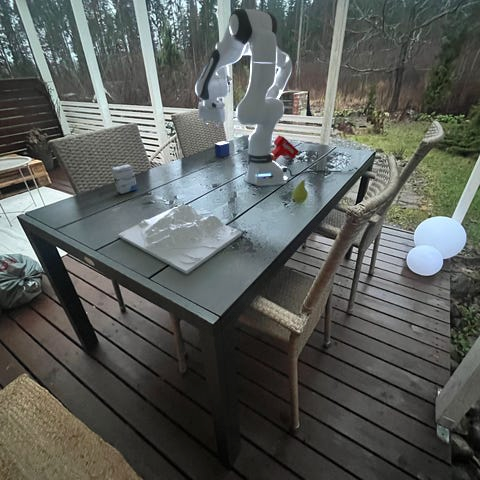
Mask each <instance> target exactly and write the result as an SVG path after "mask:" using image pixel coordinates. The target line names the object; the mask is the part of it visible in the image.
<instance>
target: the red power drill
mask: <svg viewBox="0 0 480 480" xmlns="http://www.w3.org/2000/svg"><path fill="white" fill-rule="evenodd" d="M275 139H276V140H275V141H274V142H273V144H274V146H275V148H274V149H273V150H272V151H270V153H272V154H273V155H274V156H275V157H276V159H275V160H274V161H275V162H276V163H277V159H278V158H279V157H280V156H282V157H284V158H285V157H288V158H290V159H293V160H294V159H296V158H297V156H298V154H299V153H300V150H298V148H296V147H295V146H294V145H293V144H292V143H291V142H290V141H289V140H288V139H286V137H285V136H283V135H280V134H278V136H277V137H276V138H275Z"/></svg>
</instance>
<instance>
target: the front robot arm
mask: <svg viewBox="0 0 480 480" xmlns="http://www.w3.org/2000/svg"><path fill="white" fill-rule="evenodd" d="M277 32H278V21H277V18H276V16H275V15H274V14H273V13H270V12H268V11H261V10H257V9H253V8H250V9H249V8H246V9H244V8H237V9H234V10H233V11H232V12H231V14H230V15H229V18H228V24H227V26H226V28H225V30H224V33H223V37H222V38H221V41H220V42H221V43H220V44H219V46H218V47H217V48H216V47H215V49H214V50H213V51H212V52H211V53H210V55H209V57H208V59H207V62H206V64H205V66H204V68H203V70H202V73H201V75H200V77H199V78H198V80H197V81H196V83H195V86H194V92H195V94H196V96H197V97H198V98H199V99H200V100H201V101H200V102H199V103H198V107H197V108H198V109H197V111H198V112H197V115H198V118H199V119H202V122H203V124H204V127H205V128H208V127H209V123H208V121H211V122H212V121H213V122H216V125H215V130H220V125H221V123H224V122H225V121H226V119H227V117H226V116H227V115H226V109H225V107H226V103H225V102H223V101H222V100H220V99H224V98H226V97H227V96H228V94H229V92H228V83H227V82H226V80H225V79H222V78H220V77H219V76H218V75H217V73H216V71H217V70H218V69H220V68H221V67H224V66H226V65H227V66H229V65H232V64H236V63H237V62H238V61H239V60H240V59H241V58H242V56H243V55H242V54H243V52H244V50H245V47H246V44H247V43H249V44H250V46H251V52H252V53H251V55H250V73H249V83H248V87H247V90H246V93H245V95H244V97H243V98H242V99H241V101H240V102H239V103H238V104H237V106H236V109H235V116H236V120H237V121H238V123H239V124H241V125H242V126H255V128H254V130H253V132H251V134H250V135H249V136H248V152H247V155H246V156H247V157H246V158H247V159H246V162H247V171H246V175H245V177H244V179H245V180H244V181H245V182H246V183H249V184H252V185H255V186H257V187H267V186H279V185H286V184H288V182H289V181H288V180H289V179H288V177H287V176H286V175H285V173H287V172H288V171H289V175H290V176H291V177H296V176H298V175H301V174H306V173H342V172H341V171H342V170H323V169H322V170H319V169H318V170H306V171H301V172H298V173H296V174H293V173H292V170H291V168H289V167H287V166H285V165H284V164H279V163H277V161H276V162H275V161H274V160H275V159H276V157H275V156H274V155H273V154H272V153H271V148H272V147H271V138H272V139H273V134H274V130H275V129H276V126H277V124H278V122H279V121H280V120H281V119H282V118H283V116H284V113H285V105H284V102H283V101H282V100H281V99H279V98H278V99H276V98H265V97H266V94H267V92H268V90H269V89H270V88H271V87H272V86H273V85H274V83H275V77H276V75H277V67H276V63H277V47H278V44H277V43H278V42H277V36H276V35H277ZM276 160H277V159H276ZM351 169H352V168H351ZM351 169H348V170H349V171H348V172H351V171H354V169H352V170H351ZM355 170H358V167H357V168H355Z"/></svg>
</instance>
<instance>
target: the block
mask: <svg viewBox="0 0 480 480" xmlns="http://www.w3.org/2000/svg"><path fill="white" fill-rule="evenodd" d="M214 154H215V155H214V156H215V157H218V158H224V157H227V156H230V142H229V141H228V142H227V141H219V142H217V143H214Z"/></svg>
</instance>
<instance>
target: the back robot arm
mask: <svg viewBox="0 0 480 480" xmlns="http://www.w3.org/2000/svg"><path fill="white" fill-rule="evenodd" d="M220 43H221V41H219V42H216V43H215V49H216V48H217V47H218V46H219V44H220ZM251 53H252V52H251V46H250V44H249V43H247V44H246V47H245V50H244V52H243V54H242V56H251ZM276 69H278V71H277V72H276V75H275V83H274V85H273V86H272V87H271V88H270V89H269V90H268V92H267V94H266V97H265V98H276V99H279V98H280V97H281V95H282V94H283V91H284V89H285V87H286V85H287V83H288V81H289V79H290V77H291V74H292V70H293V63H292V59H291V56H290V55H289V54H288V53H286V52H285V51H282V50H281V49H280V48H279V47H278V46H277V63H276ZM216 73H217V75H218V76H219V77H220V78H222V79H225V80H226V82H227V84H228V93H230V91H231V89H230V86H231V84H232V81H233V78H232V77H230V71H229V65H226V66H224V67H221V68H220V69H218V70H217V71H216ZM275 140H276V138H273V137H272V138H271V148H272V147H275V144H274V141H275Z"/></svg>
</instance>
